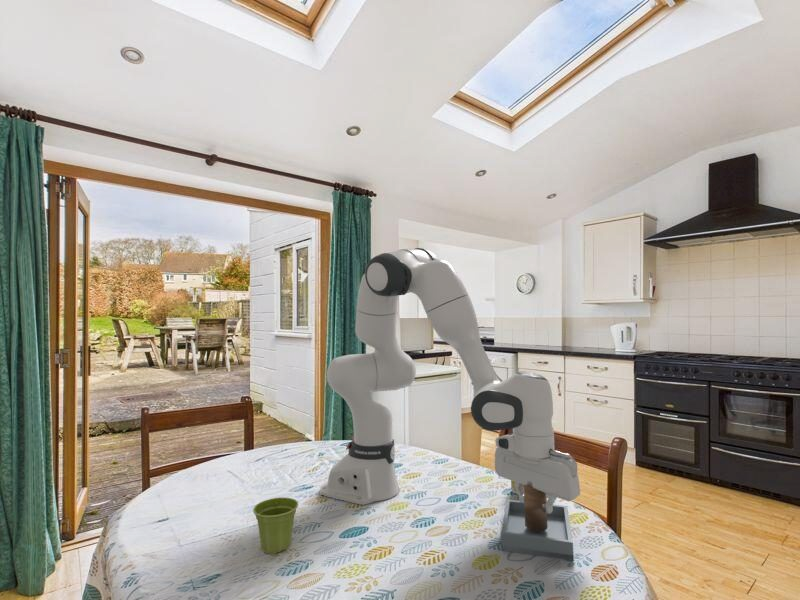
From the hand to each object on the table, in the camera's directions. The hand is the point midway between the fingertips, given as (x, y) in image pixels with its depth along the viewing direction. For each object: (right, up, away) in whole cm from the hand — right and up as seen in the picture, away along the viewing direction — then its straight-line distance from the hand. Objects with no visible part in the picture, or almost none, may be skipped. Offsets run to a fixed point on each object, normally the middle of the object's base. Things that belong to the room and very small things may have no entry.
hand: (535, 507), depth 95 cm
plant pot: (-57, -8, -3) cm, 58 cm away
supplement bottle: (+3, -7, +23) cm, 24 cm away
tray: (0, -6, 0) cm, 6 cm away
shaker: (0, -4, 0) cm, 4 cm away
